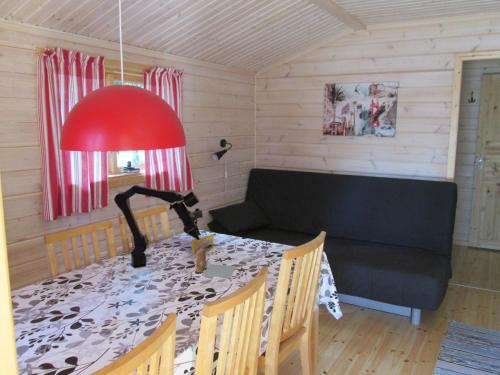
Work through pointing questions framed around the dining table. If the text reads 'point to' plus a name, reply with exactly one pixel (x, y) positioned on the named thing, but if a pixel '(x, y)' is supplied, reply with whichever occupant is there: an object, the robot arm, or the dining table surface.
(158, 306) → the dining table surface
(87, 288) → the dining table surface
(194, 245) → the candy box
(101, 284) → the dining table surface
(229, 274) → the mat
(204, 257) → the walnut block
